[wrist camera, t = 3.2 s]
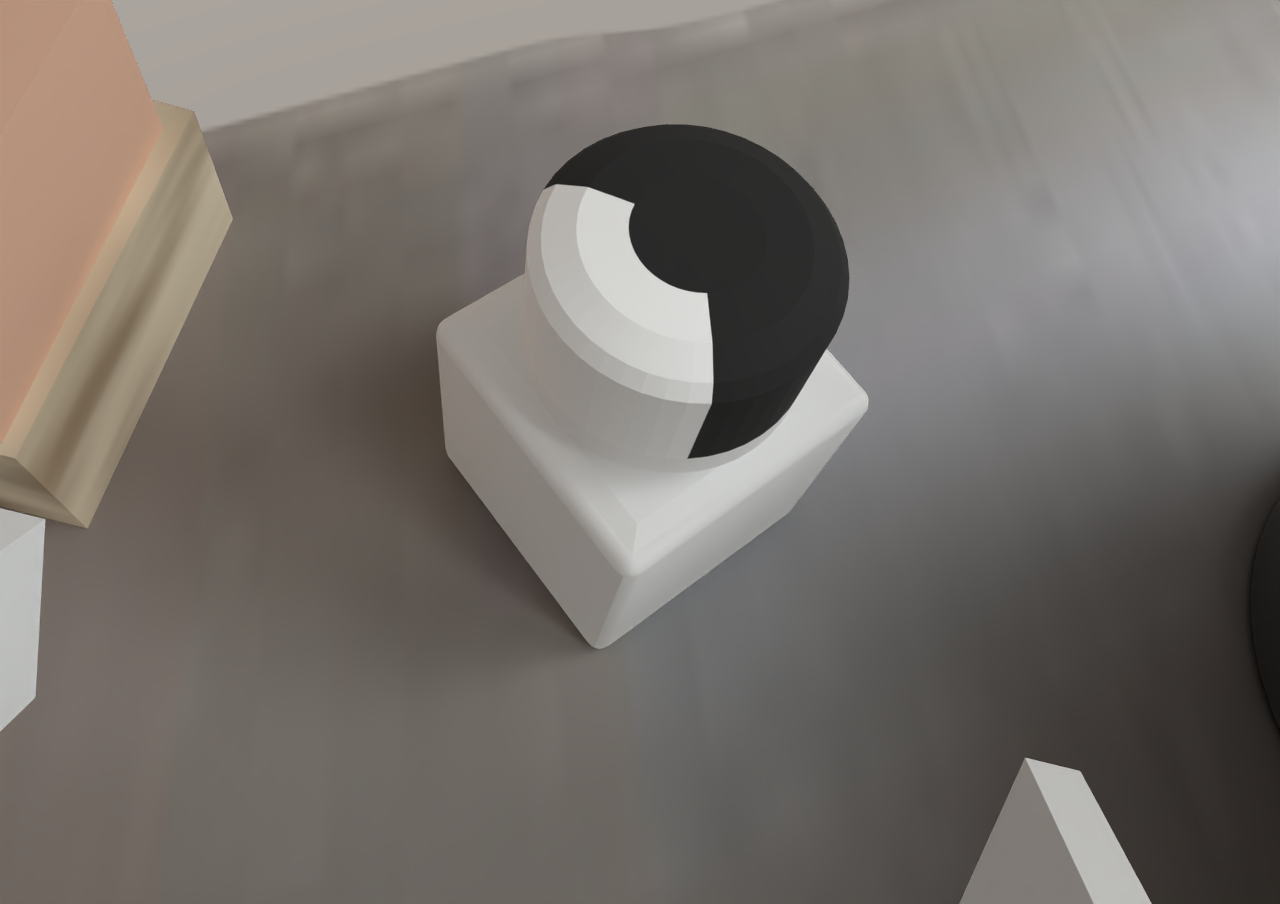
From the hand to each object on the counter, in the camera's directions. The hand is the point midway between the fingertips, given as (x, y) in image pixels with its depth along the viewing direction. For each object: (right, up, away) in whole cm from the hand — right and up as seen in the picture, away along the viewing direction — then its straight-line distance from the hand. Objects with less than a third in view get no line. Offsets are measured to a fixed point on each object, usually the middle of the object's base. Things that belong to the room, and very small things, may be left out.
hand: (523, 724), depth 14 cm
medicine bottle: (+1, +3, +16) cm, 16 cm away
